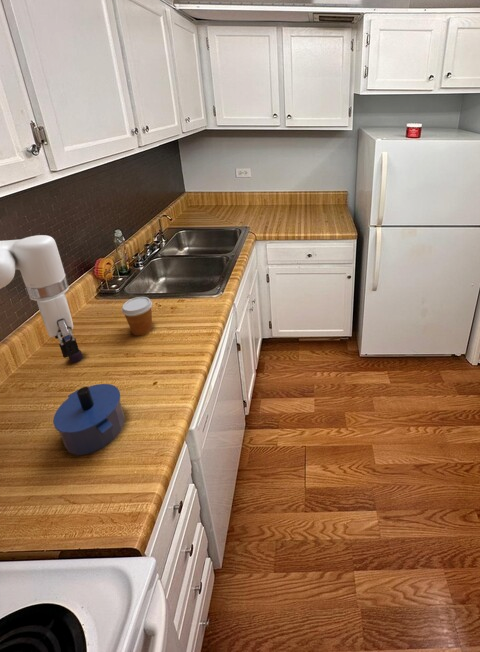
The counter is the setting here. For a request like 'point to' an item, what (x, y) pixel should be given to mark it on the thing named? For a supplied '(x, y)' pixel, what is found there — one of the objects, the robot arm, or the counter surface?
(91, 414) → the lid
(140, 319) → the disposable coffee cup
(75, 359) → the blackberry
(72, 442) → the pot
